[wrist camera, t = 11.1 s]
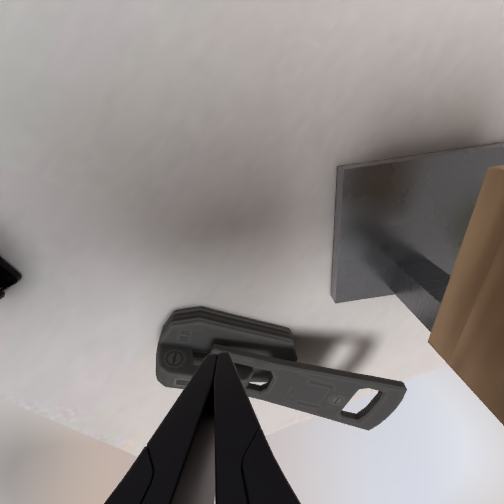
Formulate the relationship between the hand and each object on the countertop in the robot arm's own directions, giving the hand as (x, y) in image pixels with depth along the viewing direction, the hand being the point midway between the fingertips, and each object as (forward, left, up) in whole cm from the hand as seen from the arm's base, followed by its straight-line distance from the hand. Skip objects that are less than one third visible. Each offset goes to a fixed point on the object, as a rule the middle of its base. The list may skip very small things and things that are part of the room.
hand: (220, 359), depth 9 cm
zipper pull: (+16, -2, -13) cm, 21 cm away
